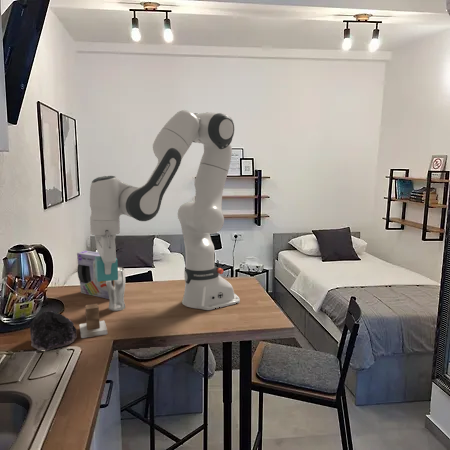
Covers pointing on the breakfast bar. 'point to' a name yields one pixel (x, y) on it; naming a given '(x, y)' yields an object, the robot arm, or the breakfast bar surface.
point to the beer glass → (116, 291)
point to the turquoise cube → (101, 274)
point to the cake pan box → (90, 275)
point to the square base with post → (92, 323)
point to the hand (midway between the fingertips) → (106, 270)
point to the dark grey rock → (51, 331)
